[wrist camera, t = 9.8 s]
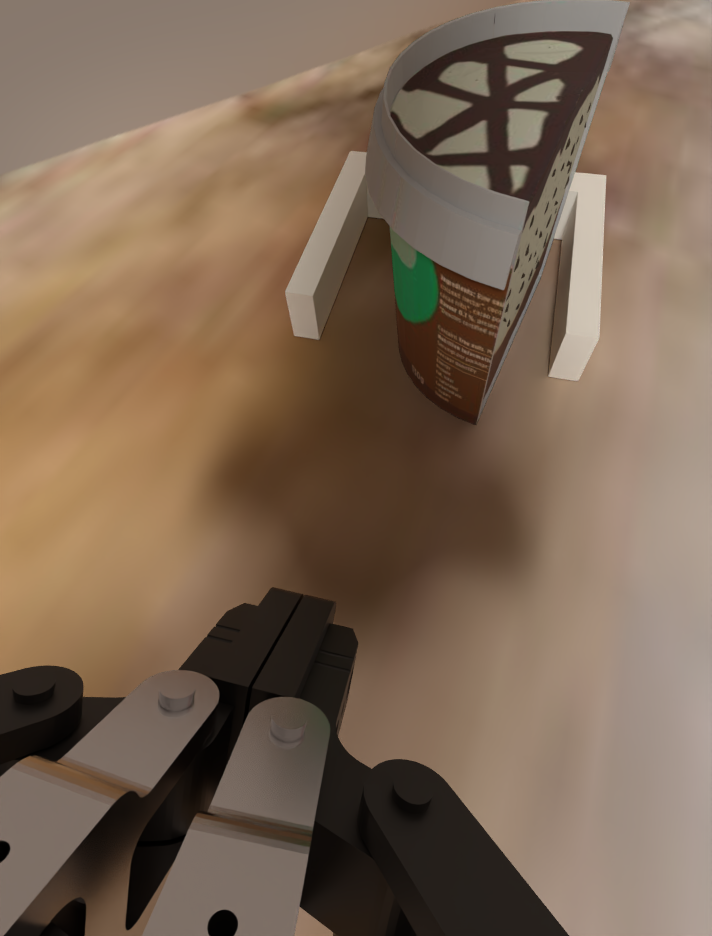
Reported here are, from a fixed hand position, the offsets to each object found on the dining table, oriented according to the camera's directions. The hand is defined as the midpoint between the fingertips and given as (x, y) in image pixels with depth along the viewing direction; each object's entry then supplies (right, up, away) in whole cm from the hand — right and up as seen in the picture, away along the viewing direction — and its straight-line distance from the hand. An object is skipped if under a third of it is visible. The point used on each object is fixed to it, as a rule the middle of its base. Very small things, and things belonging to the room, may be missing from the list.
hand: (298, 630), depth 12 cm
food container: (+5, +10, +12) cm, 16 cm away
